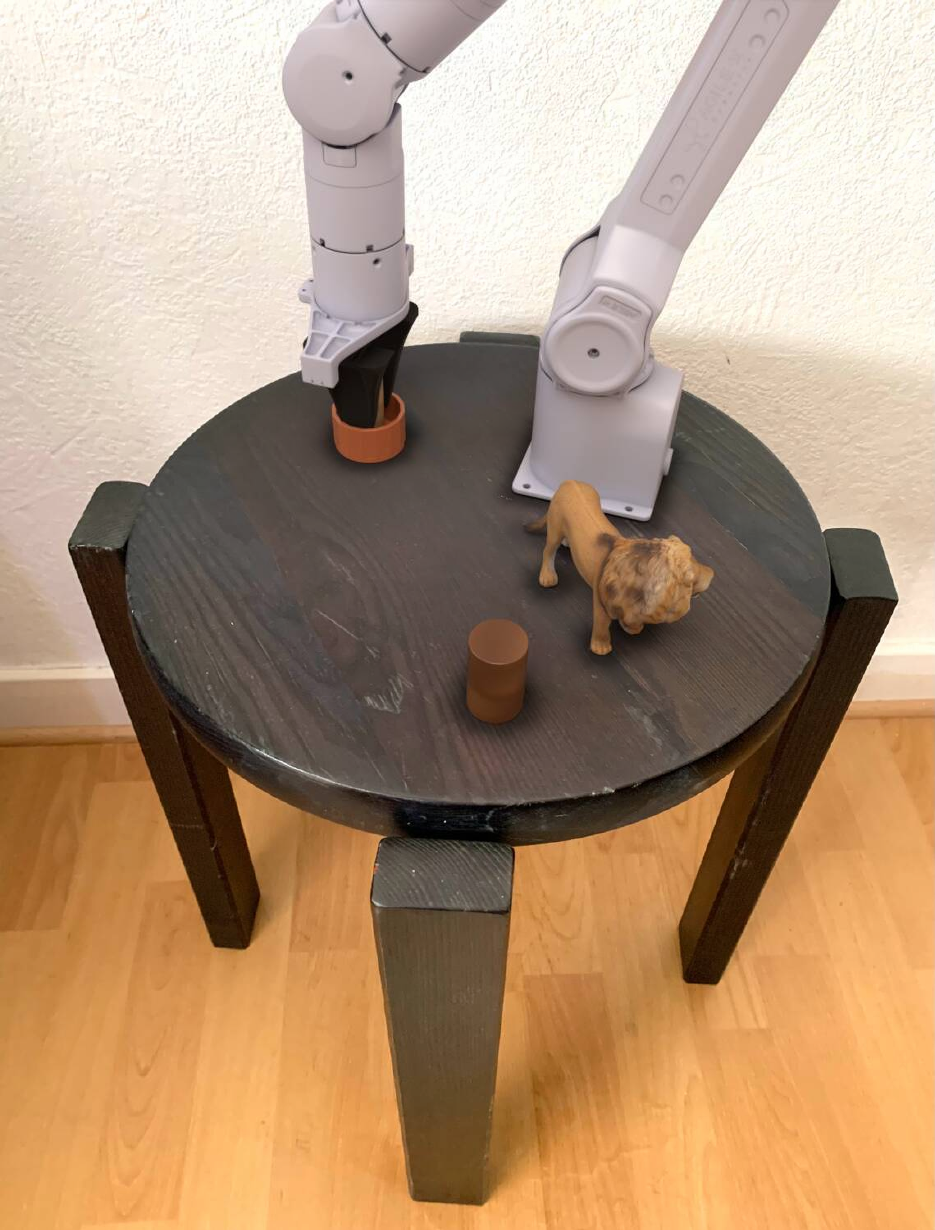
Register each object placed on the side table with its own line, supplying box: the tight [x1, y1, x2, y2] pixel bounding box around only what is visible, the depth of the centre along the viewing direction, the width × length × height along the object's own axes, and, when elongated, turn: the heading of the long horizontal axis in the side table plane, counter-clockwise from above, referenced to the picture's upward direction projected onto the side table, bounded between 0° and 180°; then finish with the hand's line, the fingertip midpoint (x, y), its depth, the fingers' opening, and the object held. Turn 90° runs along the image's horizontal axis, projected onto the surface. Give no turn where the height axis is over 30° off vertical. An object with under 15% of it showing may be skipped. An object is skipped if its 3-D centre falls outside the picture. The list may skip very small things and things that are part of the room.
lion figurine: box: [522, 479, 715, 656], centre depth 61 cm, size 15×5×9 cm, turn 33°
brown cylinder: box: [465, 618, 530, 725], centre depth 57 cm, size 3×3×5 cm
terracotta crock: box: [331, 391, 407, 464], centre depth 73 cm, size 5×5×3 cm
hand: (366, 414), depth 72 cm, fingers closed on pepper mill, terracotta crock, 2 cm apart
